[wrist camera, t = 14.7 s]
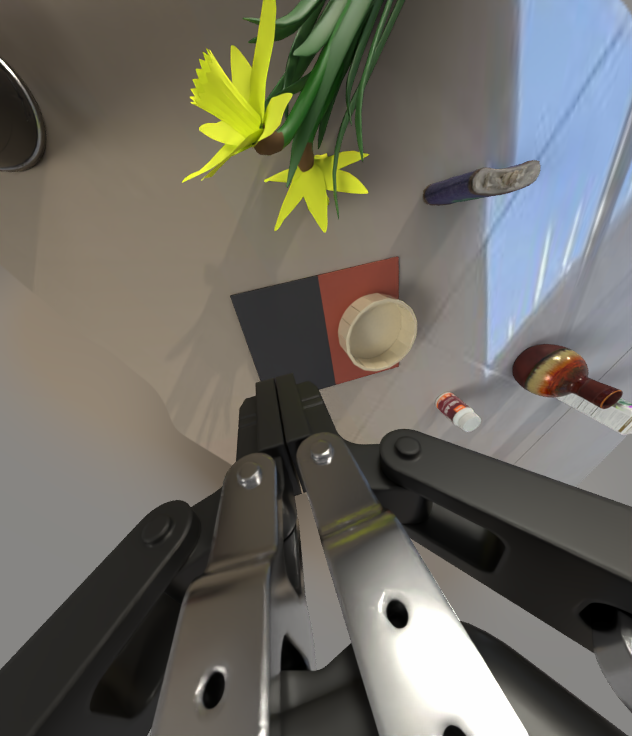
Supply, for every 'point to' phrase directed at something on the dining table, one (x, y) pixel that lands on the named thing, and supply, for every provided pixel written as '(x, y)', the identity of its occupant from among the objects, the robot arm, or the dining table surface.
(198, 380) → the dining table surface
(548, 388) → the vase
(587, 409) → the syrup box
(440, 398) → the pill bottle
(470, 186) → the flask
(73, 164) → the dining table surface
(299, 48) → the daffodil flowers
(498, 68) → the dining table surface
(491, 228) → the dining table surface
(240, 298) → the placemat
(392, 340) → the bowl
